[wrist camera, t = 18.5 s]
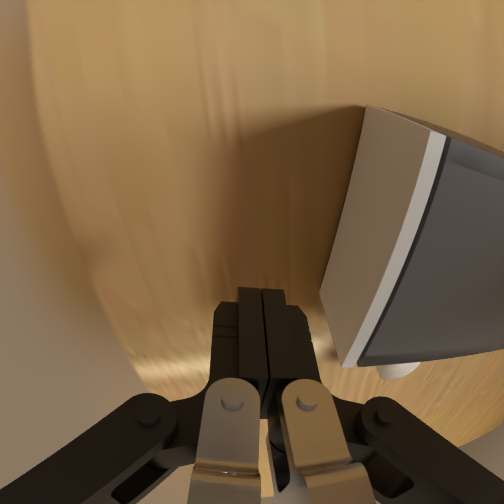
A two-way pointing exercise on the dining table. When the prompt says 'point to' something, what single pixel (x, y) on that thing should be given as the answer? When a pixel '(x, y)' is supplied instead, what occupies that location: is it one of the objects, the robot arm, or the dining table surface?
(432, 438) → the robot arm
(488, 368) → the dining table surface
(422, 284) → the box
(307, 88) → the dining table surface
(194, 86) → the dining table surface
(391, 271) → the disc tray
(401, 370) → the white rounded piece
